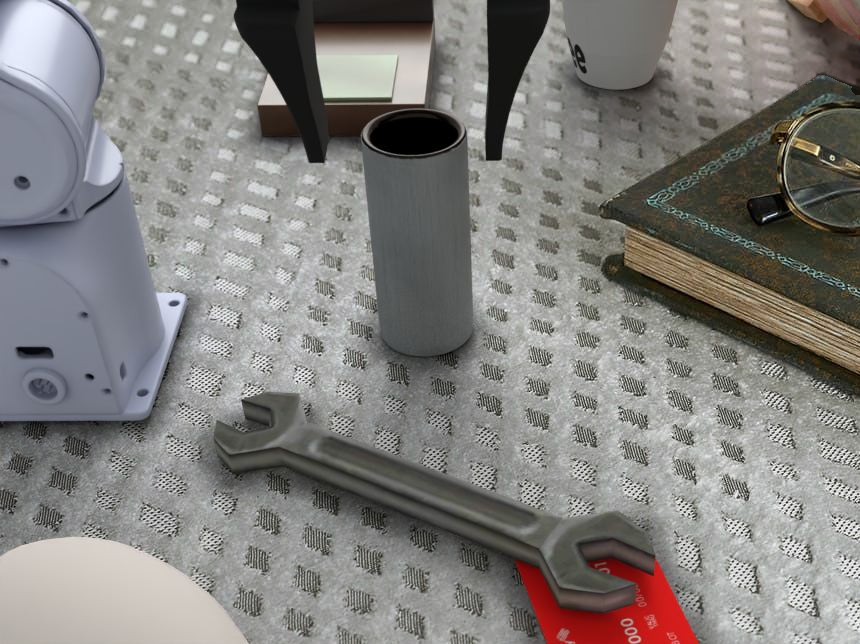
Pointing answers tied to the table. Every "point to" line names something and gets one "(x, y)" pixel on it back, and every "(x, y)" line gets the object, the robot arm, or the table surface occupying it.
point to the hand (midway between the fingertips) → (406, 151)
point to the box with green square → (363, 64)
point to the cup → (617, 39)
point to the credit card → (617, 630)
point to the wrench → (445, 503)
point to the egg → (103, 597)
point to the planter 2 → (833, 13)
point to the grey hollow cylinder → (420, 229)
